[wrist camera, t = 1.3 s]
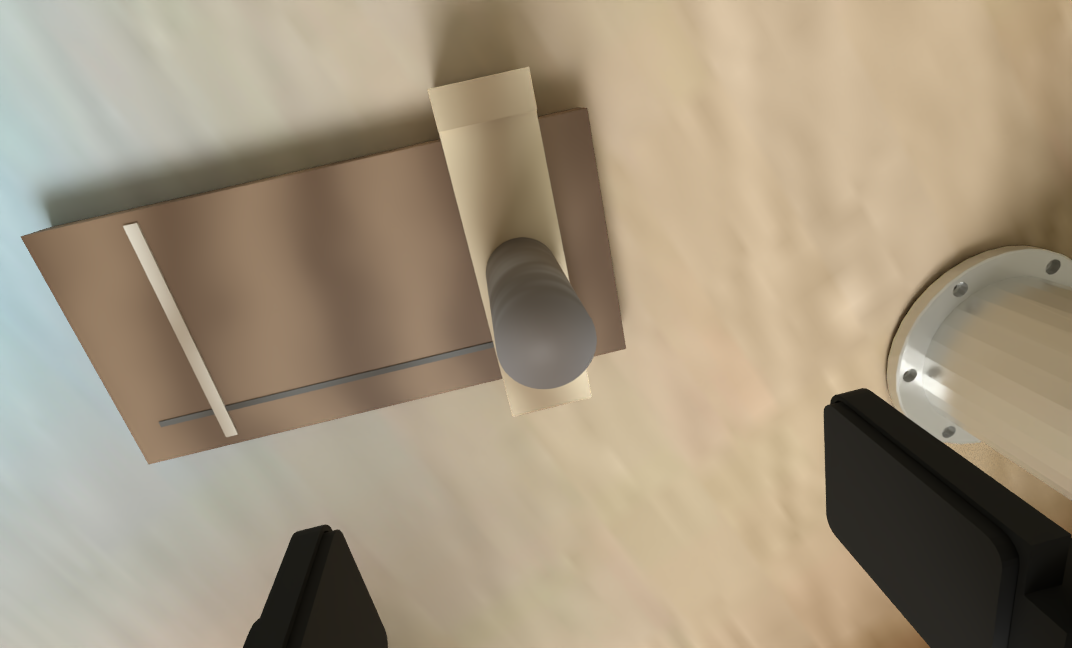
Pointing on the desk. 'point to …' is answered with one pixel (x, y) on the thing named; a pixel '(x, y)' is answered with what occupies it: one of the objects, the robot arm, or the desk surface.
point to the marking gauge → (515, 238)
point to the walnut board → (305, 293)
